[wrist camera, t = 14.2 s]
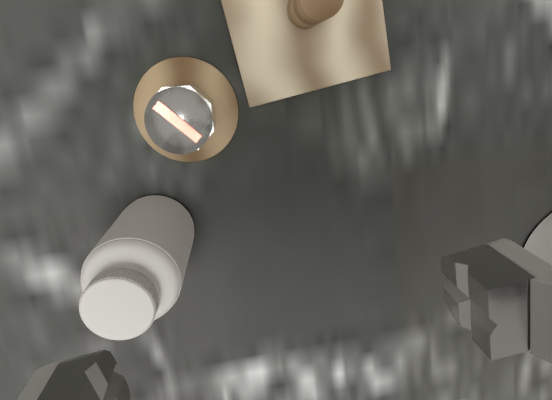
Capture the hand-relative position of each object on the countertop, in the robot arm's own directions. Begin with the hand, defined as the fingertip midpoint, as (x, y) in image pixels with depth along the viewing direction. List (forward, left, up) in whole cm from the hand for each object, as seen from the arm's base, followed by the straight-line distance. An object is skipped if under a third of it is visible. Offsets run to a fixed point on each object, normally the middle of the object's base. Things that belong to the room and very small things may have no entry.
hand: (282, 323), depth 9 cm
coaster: (+5, -3, -31) cm, 32 cm away
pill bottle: (+12, +8, -31) cm, 34 cm away
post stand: (-8, -9, -31) cm, 33 cm away
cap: (+5, -3, -30) cm, 31 cm away
